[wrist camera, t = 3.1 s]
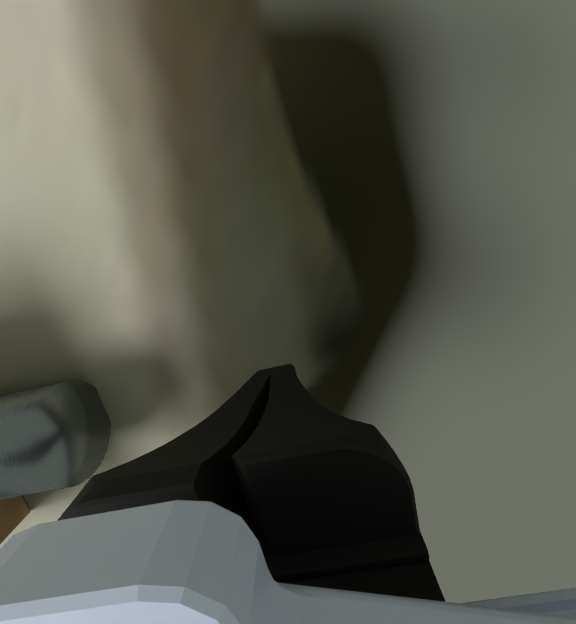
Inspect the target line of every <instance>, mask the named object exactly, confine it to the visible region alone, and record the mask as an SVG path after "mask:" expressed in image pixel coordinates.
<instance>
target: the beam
mask: <svg viewBox="0 0 576 624" xmlns="http://www.w3.org/2000/svg"><path fill="white" fill-rule="evenodd" d="M29 513H30V510H29V508H28V506H27V504H26V502H25V501H24V499H23V497H22V496H17V497H11V498H6V499H0V544H1V543H2V542H3V541H4V539H5V538H6V537H7V536H8V535H9V534H10V533H11V532H12V531H13V530H14V529H15V528H16V527H17V525H18V524H19V523H20V522H21V521H22V520H23V519H24V518H25V517H26V516H27V515H28V514H29Z"/></svg>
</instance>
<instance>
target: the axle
mask: <svg viewBox="0 0 576 624" xmlns="http://www.w3.org/2000/svg"><path fill="white" fill-rule="evenodd" d="M109 438H110V420H109V418H108V415H107V413H106V411H105V409H104V406H103V404H102V402H101V399H100V397H99V395H98V392H97V390H96V389H95V388H94V387H93V386H91V385H90V384H88V383H85V382H82V381H67V382H63V383H58V384H53V385H48V386H44V387H39V388H34V389H29V390H24V391H20V392H15V393H10V394H5V395H1V396H0V499H6V498H11V497H17V496H23V495H28V494H34V493H39V492H45V491H51V490H56V489H62V488H67V487H73V486H76V485H78V484H80V483H82V482H84V481H85V480H87V479H88V478H89V477H90V476H91V475H92V474H93V473H94V472H95V471H96V470H97V468H98V467H99V465H100V464H101V462H102V460H103V458H104V456H105V453H106V450H107V447H108V443H109Z"/></svg>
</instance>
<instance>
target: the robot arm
mask: <svg viewBox="0 0 576 624" xmlns="http://www.w3.org/2000/svg"><path fill="white" fill-rule="evenodd" d="M0 624H576V588H571V589H563V590H557V591H548V592H541V593H534V594H526V595H518V596H511V597H503V598H496V599H488V600H481V601H473V602H466V603H452V602H445V599H444V597H443V594H442V592H441V589H440V587H439V584H438V582H437V579H436V577H435V575H434V572H433V569H432V567H431V564H430V562H429V554H428V550H427V547H426V545H425V542H424V540H423V537H422V535H421V533H420V529H419V523H418V517H417V510H416V504H415V497H414V491H413V487H412V484H411V481H410V478H409V476H408V474H407V472H406V470H405V468H404V466H403V465H402V463H401V462H400V460H399V458H398V457H397V455H396V454H395V452H394V450H393V449H392V448H391V446H390V445H389V444H388V442H387V441H386V440H385V438H384V437H383V436H382V435H381V433H380V432H379V431H378V430H377V429H376V427H374V426H373V425H371V424H367V423H363V422H359V421H355V420H351V419H348V418H346V417H343V416H340V415H338V414H336V413H334V412H332V411H331V410H329V409H327V408H326V407H324V406H323V405H322V404H320V403H319V402H318V401H317V400H316V399H314V398H313V397H312V396H311V395H310V393H309V392H308V391H307V390H306V389H305V388H304V387H303V385H302V384H301V382H300V381H299V379H298V378H297V375H296V371H295V367H294V366H293V365H292V364H288V365H283V366H278V367H273V368H268V369H263V370H259V371H258V372H256V373H255V374H254V375H253V376H252V377H251V378H250V379H249V380H248V381H247V382H246V383H245V384H244V385H243V386H242V387H241V388H240V389H239V390H238V391H237V392H236V393H235V394H234V395H233V396H232V397H231V398H230V399H229V400H228V401H226V402H225V403H224V404H223V405H222V406H221V407H220V408H219V409H217V410H216V411H215V412H214V413H212V414H211V415H210V416H209V417H207V418H206V419H205V420H203V421H202V422H200V423H199V424H198V425H196V426H195V427H193V428H192V429H190V430H188V431H187V432H185V433H183V434H182V435H180V436H179V437H177V438H175V439H174V440H172V441H170V442H168V443H167V444H165V445H163V446H161V447H159V448H157V449H155V450H153V451H151V452H149V453H147V454H145V455H143V456H141V457H139V458H136V459H134V460H132V461H130V462H127V463H125V464H122V465H120V466H117V467H115V468H113V469H110V470H108V471H105V472H103V473H100V474H97V475H95V476H93V477H92V478H91V479H90V480H89V481H88V483H87V484H86V485H85V486H84V488H83V489H82V490H81V491H80V493H79V494H78V495H77V497H76V498H75V499H74V500H73V502H72V503H71V504H70V505H69V507H68V508H67V509H66V510H65V512H64V513H63V514H62V515H61V517H60V518H59V519H58V521H53V522H47V523H41V524H38V525H35V526H33V527H31V528H29V529H27V530H24V531H22V532H20V533H18V534H16V535H13V536H12V537H11V538H10V539H9V541H8V542H7V543H6V544H5V545H4V546H3V547H2V548H1V549H0Z"/></svg>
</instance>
